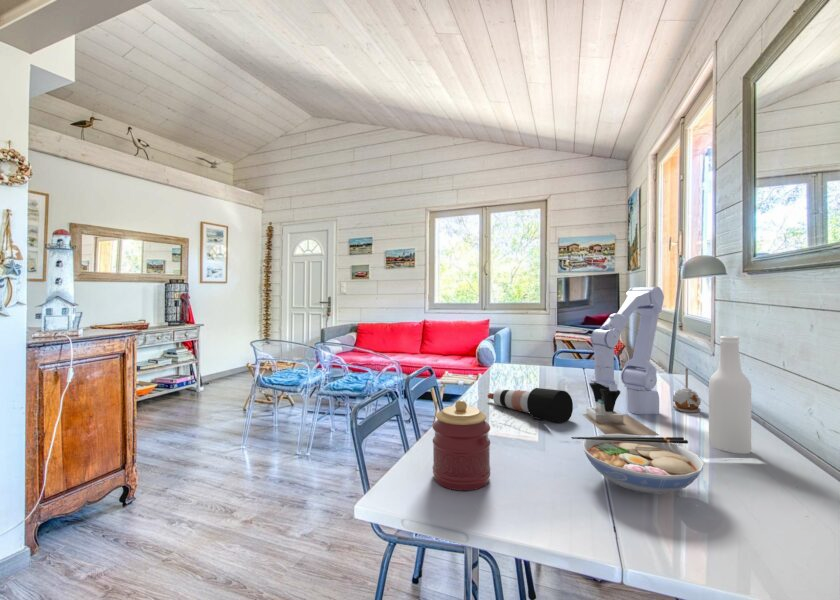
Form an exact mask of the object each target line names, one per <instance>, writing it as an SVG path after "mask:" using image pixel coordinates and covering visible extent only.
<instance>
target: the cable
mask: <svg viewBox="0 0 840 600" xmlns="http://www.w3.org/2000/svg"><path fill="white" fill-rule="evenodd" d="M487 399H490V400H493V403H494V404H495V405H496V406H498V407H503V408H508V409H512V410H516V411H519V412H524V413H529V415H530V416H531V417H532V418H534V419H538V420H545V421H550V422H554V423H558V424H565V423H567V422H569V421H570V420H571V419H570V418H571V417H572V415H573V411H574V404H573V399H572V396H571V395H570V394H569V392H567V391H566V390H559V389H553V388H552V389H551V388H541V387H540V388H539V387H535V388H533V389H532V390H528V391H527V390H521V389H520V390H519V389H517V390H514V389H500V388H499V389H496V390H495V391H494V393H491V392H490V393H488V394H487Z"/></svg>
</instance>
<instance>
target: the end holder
mask: <svg viewBox="0 0 840 600" xmlns="http://www.w3.org/2000/svg"><path fill="white" fill-rule="evenodd" d="M585 411H586V412H585V414H586V415H588V416H589V417H590V418H591V419H592V420H594V421H595V422H596V423H623V413H621V412H620V411H618V410H617V409H615V408H614V410H613V412H612V414H598V413H597V412H596V406H593V407H592V406H591V407H590V406H586V410H585Z"/></svg>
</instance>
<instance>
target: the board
mask: <svg viewBox="0 0 840 600" xmlns="http://www.w3.org/2000/svg"><path fill="white" fill-rule="evenodd" d="M622 414H623V413H622ZM581 415H582V416H583V417H584V418H586V419H587V420H588V421H589V422H590V423H591V424H593V426H595V427H596V428H598V429H599V430H600V431H601V432H602V433H603V434H627V435H637V436H660V434H659V433H657V432H656V431H654V430H653V429H651V428H649V427H647V426H646V425H644V423H642V422H640V421H639V420H636V418H634V417H633V416H631V415H629V414H628V413H625V414H623V423H596V422H595V421H594V420H592V419H591V418H590V417H589V416H588V415H586V413H581Z"/></svg>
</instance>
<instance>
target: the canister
mask: <svg viewBox="0 0 840 600" xmlns="http://www.w3.org/2000/svg"><path fill="white" fill-rule="evenodd" d="M435 418H436V419H437V420H435V421H434V422H433V424H432V429H433V430H434V436H433V438H432V446H433V460H432V461H433V463H432V474H433V479H434V480H435V482H436V483H437V484H439V486H441V487H444V488H446V489H450V490H453V491H454V490H455V491H472V490H473V491H474V490H479V489H481V488H483V487H485V486H486V485H488V484H489V482H490V478H491V477H490V476H491V470H492V468H491V463H490V460H491V459H490V453H491V452H490V450H491V449H490V446H491V440H490V439H489V432H490V430H491V426H490V424H489V423H488V422H487V421H486V419H487V414H485V413H484V412H483V411H482V410H480V409H479V408H477V407H475V406H471V405H468V404H467V402H466V401H465V400H464V399H458V400H457V401H456V402H455V405H449V406H446V407H443V409H442V410H439V411H438V412H437V413H435Z"/></svg>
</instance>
